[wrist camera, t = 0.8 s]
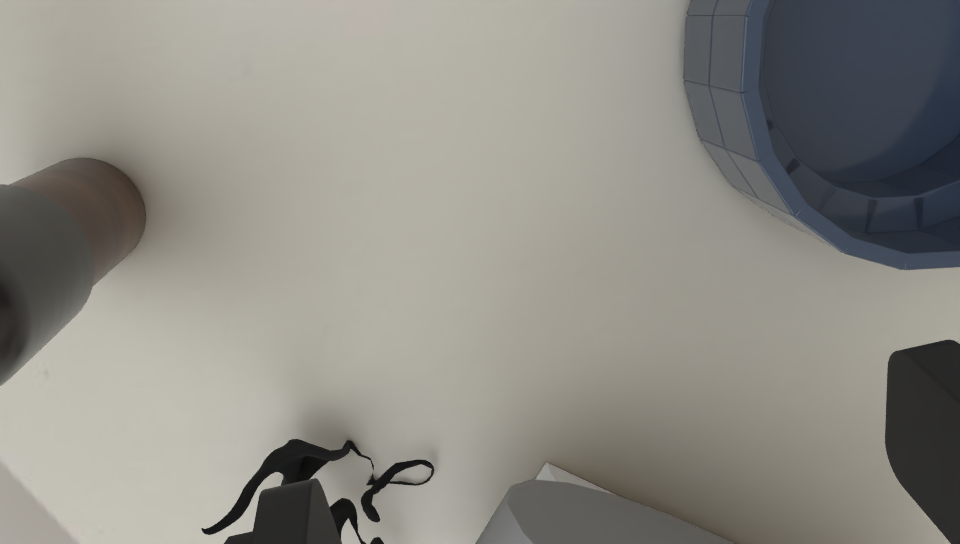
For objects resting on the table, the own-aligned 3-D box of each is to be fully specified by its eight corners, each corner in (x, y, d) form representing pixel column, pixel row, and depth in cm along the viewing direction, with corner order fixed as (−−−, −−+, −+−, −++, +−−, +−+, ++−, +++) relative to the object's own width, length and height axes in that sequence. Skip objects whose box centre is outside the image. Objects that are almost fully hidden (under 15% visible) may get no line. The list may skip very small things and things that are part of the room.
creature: (460, 486, 37) (359, 363, 33) (487, 582, 32) (373, 453, 28) (307, 575, 37) (190, 465, 33) (313, 682, 33) (177, 569, 29)
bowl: (632, -86, 30) (689, -111, 24) (1015, -229, 29) (1165, -287, 24) (730, 276, 34) (799, 329, 28) (1065, 153, 34) (1201, 181, 28)
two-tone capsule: (-3, 175, 30) (-291, 292, 17) (118, 130, 30) (-82, 215, 17) (59, 290, 31) (-164, 476, 19) (175, 247, 31) (29, 405, 19)
